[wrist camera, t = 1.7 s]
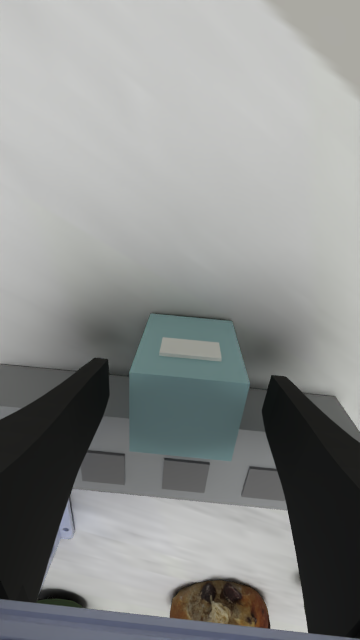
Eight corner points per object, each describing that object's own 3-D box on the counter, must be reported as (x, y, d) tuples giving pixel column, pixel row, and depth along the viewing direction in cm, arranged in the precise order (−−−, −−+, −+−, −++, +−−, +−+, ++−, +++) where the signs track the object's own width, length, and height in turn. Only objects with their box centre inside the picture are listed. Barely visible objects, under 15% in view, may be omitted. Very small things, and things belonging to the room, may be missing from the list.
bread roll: (165, 558, 32) (144, 662, 27) (202, 572, 24) (182, 722, 19) (238, 580, 33) (231, 683, 28) (294, 600, 26) (299, 746, 21)
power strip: (430, 476, 18) (484, 541, 15) (18, 435, 19) (-21, 490, 15) (480, 410, 16) (559, 471, 12) (1, 364, 16) (-52, 410, 13)
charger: (217, 403, 16) (225, 484, 12) (147, 396, 16) (129, 474, 12) (232, 318, 14) (250, 380, 9) (150, 310, 14) (129, 368, 9)
